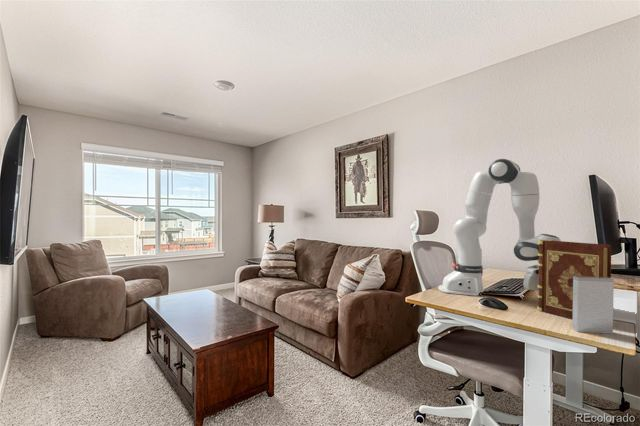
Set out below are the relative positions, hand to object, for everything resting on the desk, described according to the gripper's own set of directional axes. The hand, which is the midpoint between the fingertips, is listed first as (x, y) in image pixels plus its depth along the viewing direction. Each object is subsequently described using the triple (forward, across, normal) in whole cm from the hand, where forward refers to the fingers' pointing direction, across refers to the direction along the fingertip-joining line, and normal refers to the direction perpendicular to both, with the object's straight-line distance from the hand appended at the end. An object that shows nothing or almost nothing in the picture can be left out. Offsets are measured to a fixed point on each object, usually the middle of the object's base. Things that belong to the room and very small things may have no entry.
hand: (549, 300), depth 136 cm
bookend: (+2, +3, +31) cm, 31 cm away
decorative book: (+2, 0, +15) cm, 15 cm away
